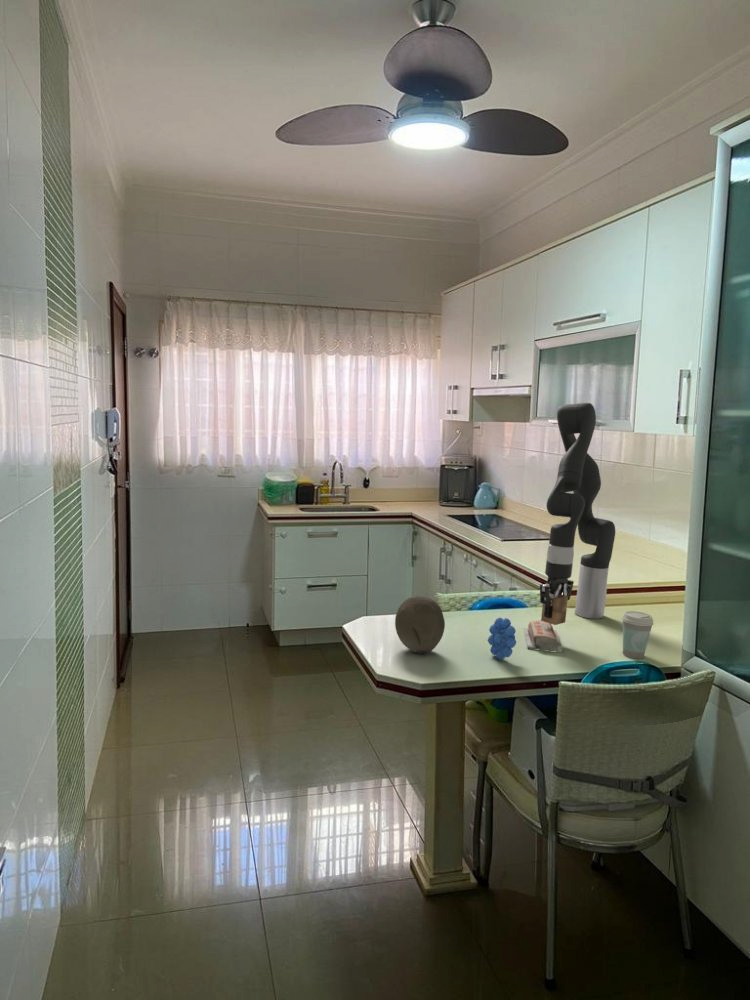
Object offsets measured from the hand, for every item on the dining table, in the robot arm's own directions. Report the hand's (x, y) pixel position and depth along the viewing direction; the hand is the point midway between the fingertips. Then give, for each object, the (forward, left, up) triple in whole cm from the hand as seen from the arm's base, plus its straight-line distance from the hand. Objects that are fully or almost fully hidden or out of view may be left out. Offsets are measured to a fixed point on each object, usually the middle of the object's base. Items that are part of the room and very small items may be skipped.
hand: (553, 615), depth 216 cm
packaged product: (+2, -2, -9) cm, 9 cm away
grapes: (+25, +2, -8) cm, 26 cm away
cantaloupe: (+41, -15, -8) cm, 44 cm away
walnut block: (0, 0, -2) cm, 2 cm away
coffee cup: (-12, +20, -8) cm, 25 cm away
